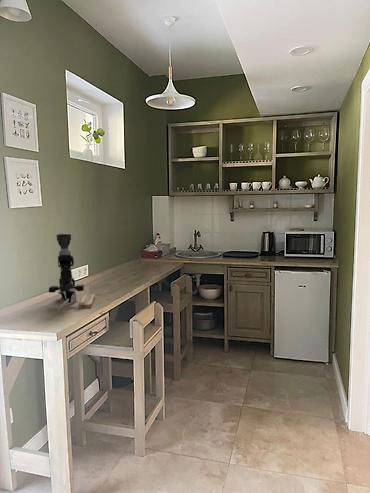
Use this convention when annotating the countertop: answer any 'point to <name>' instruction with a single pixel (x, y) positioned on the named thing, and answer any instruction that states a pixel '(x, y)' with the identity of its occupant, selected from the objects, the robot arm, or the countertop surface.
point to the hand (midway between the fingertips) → (67, 303)
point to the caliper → (68, 301)
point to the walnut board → (87, 301)
